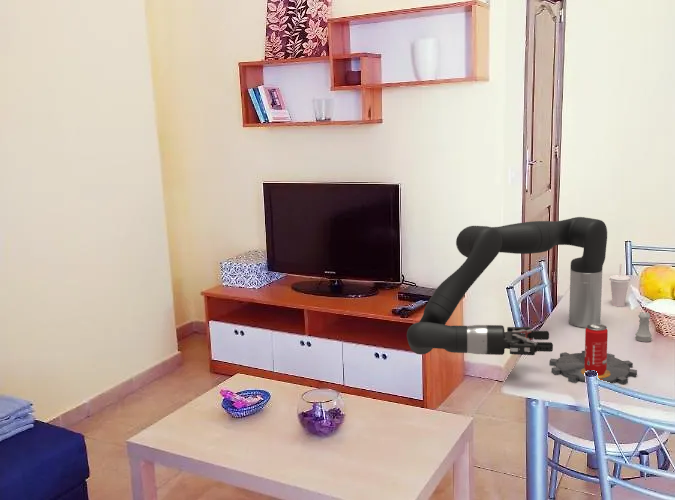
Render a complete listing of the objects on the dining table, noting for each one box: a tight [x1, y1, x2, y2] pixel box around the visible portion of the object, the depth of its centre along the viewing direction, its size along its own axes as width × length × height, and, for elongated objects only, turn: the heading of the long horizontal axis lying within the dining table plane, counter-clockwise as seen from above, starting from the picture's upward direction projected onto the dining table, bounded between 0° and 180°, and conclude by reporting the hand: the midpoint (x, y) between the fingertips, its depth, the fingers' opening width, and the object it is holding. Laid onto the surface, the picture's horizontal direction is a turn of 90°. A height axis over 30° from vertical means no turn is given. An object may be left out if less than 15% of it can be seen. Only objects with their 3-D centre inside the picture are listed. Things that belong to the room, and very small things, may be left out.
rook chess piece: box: [634, 311, 653, 343], centre depth 196 cm, size 4×4×8 cm
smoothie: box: [609, 263, 631, 308], centre depth 228 cm, size 6×6×14 cm
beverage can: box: [584, 323, 609, 376], centre depth 171 cm, size 5×5×12 cm
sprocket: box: [548, 350, 638, 385], centre depth 177 cm, size 21×21×3 cm
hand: (550, 341), depth 172 cm, fingers open, 8 cm apart
